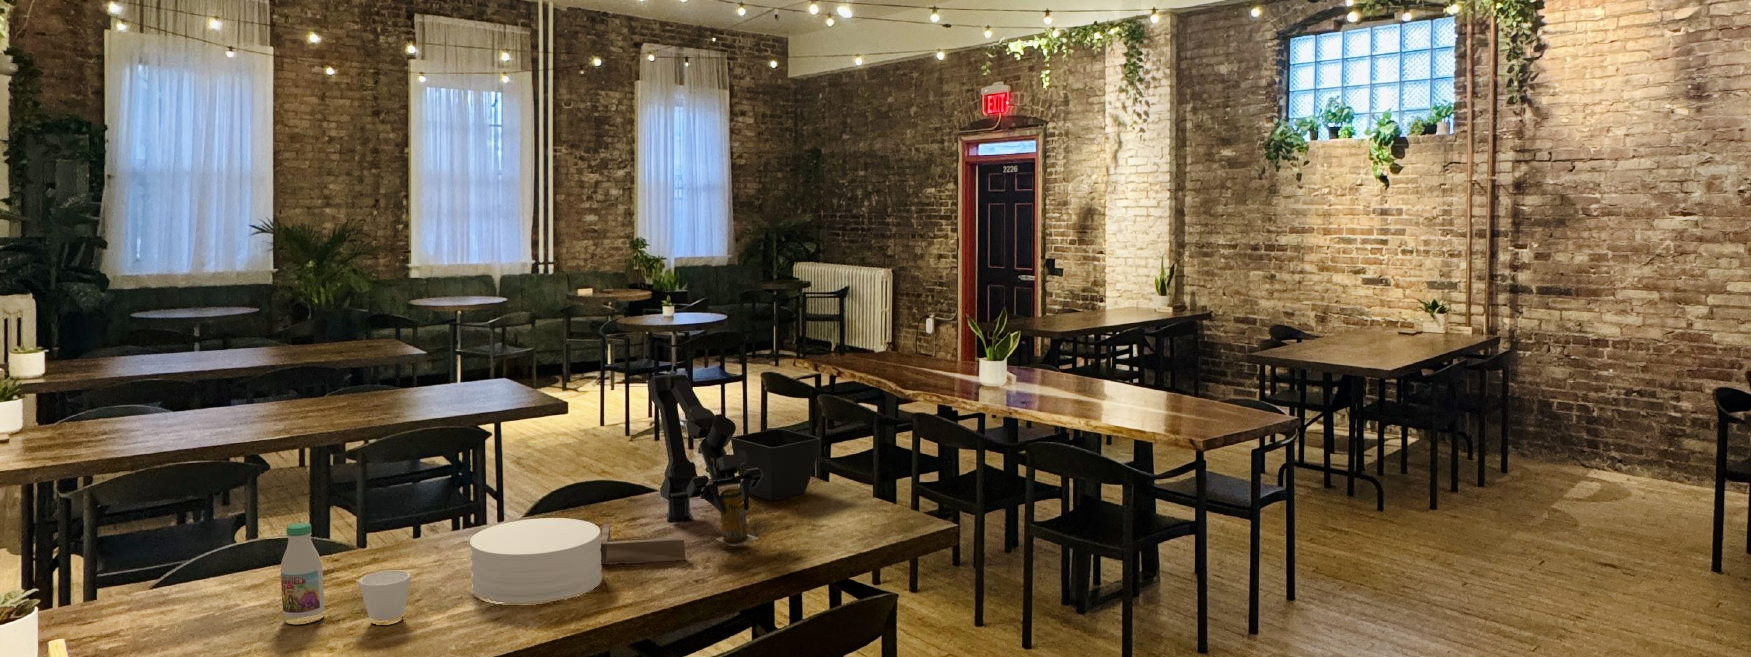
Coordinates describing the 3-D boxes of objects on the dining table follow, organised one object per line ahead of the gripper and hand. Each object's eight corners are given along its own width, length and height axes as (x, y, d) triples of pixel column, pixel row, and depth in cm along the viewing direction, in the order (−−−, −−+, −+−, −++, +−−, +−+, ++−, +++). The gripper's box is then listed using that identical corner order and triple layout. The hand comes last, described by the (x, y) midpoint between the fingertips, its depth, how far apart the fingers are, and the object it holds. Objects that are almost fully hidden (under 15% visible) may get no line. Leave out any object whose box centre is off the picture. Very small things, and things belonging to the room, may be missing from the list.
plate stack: (533, 559, 284) (531, 512, 282) (627, 575, 271) (625, 526, 270) (444, 595, 259) (441, 544, 257) (543, 614, 246) (541, 561, 245)
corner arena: (604, 543, 295) (603, 523, 295) (683, 538, 299) (682, 519, 298) (600, 564, 278) (600, 544, 278) (684, 560, 282) (683, 539, 281)
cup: (362, 633, 236) (360, 588, 235) (358, 617, 245) (356, 574, 243) (416, 624, 240) (413, 580, 239) (410, 609, 249) (408, 566, 248)
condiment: (740, 531, 296) (735, 485, 294) (758, 539, 289) (753, 492, 287) (715, 539, 292) (709, 493, 290) (733, 547, 285) (728, 500, 283)
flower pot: (822, 493, 343) (821, 436, 341) (773, 506, 329) (772, 447, 327) (778, 482, 356) (778, 427, 354) (729, 494, 342) (728, 437, 340)
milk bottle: (292, 613, 247) (286, 520, 245) (331, 612, 248) (325, 519, 245) (277, 627, 239) (271, 531, 237) (316, 625, 240) (310, 530, 238)
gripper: (690, 445, 285) (711, 500, 277) (759, 436, 295) (781, 488, 288) (678, 470, 293) (697, 524, 285) (745, 460, 303) (766, 512, 295)
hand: (736, 511), depth 288 cm, fingers closed on condiment, 6 cm apart
